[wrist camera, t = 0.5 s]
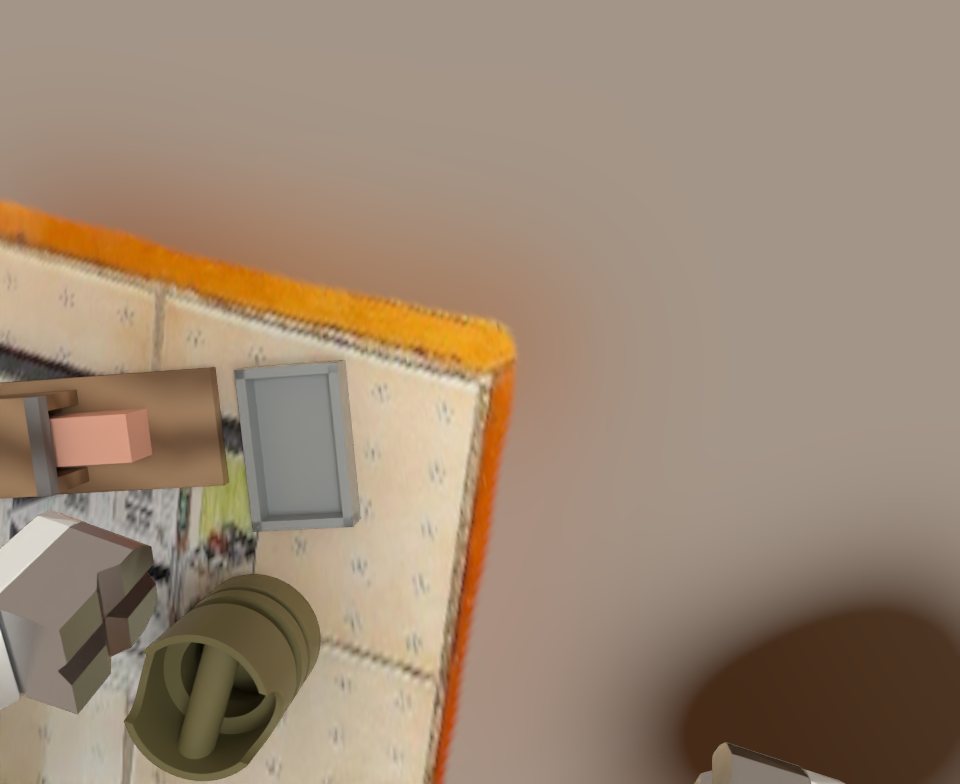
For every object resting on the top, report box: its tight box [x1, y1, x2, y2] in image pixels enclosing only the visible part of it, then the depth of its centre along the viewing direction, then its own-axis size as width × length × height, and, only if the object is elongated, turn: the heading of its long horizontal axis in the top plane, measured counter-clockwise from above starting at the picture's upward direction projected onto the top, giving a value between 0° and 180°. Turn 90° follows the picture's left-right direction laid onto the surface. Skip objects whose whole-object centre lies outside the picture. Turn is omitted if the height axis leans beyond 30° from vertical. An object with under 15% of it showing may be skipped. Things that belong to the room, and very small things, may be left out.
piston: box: [124, 574, 320, 781], centre depth 60 cm, size 11×12×11 cm
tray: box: [234, 360, 361, 532], centre depth 63 cm, size 14×9×2 cm, turn 4°
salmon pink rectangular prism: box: [49, 408, 152, 467], centre depth 63 cm, size 4×10×3 cm, turn 95°
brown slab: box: [0, 367, 229, 498], centre depth 62 cm, size 10×22×6 cm, turn 95°
